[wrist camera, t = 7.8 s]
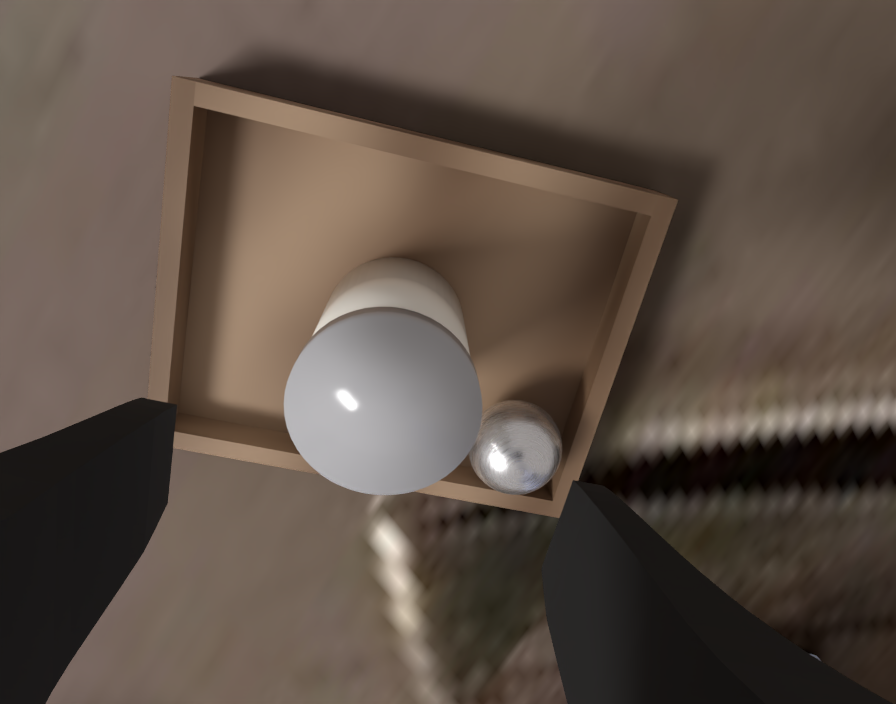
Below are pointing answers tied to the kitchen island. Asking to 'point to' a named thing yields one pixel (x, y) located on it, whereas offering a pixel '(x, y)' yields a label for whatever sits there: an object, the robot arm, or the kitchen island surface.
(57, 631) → the robot arm
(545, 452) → the steel ball
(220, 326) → the tray
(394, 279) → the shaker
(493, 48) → the kitchen island surface
